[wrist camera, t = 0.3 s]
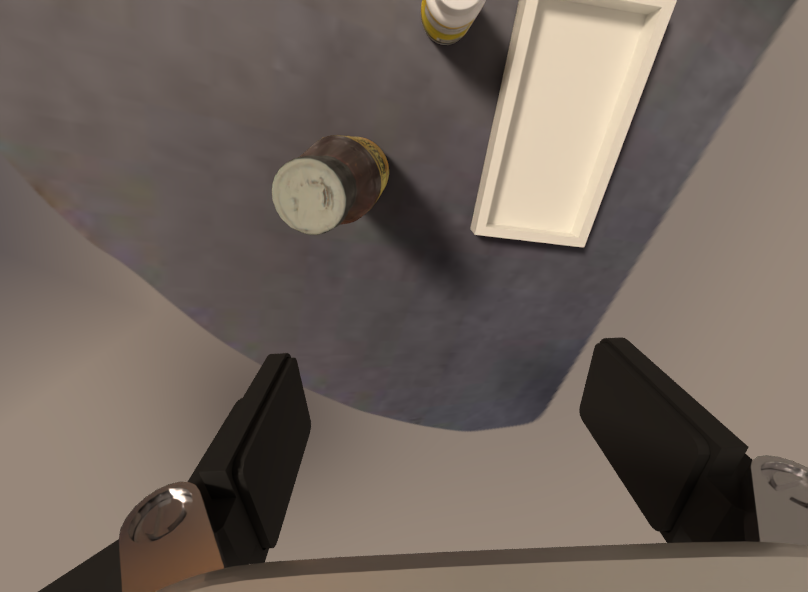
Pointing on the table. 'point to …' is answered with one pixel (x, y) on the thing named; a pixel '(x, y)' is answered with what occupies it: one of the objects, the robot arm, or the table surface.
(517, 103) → the tray
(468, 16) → the supplement bottle
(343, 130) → the table surface
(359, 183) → the sauce bottle
